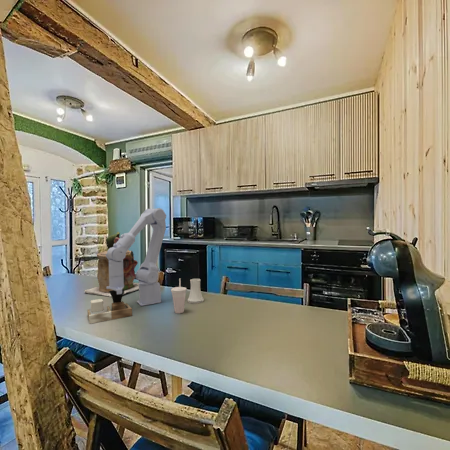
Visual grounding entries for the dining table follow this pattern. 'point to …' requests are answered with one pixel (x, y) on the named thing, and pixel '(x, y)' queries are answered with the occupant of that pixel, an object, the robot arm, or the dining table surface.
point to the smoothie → (179, 297)
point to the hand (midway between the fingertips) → (117, 307)
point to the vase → (195, 292)
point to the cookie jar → (103, 270)
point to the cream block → (96, 305)
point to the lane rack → (109, 314)
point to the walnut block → (118, 306)
